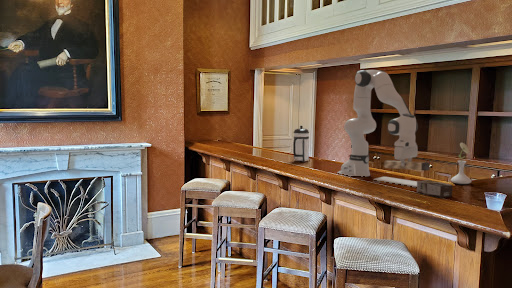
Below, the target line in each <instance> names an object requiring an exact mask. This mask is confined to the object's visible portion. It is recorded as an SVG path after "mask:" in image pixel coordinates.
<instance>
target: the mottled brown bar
mask: <svg viewBox="0 0 512 288" xmlns="http://www.w3.org/2000/svg"><path fill="white" fill-rule="evenodd" d="M383 163H384V165H383V167H384V168H386V169H398V170H413V171H423V172H424V171H430V162H428V161H425V162H424V161H423V162H422V161H411V162H407V160H405V164H406V165H405V166H404V167H402V166H401V161H400V160H384V162H383Z"/></svg>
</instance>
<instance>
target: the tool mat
mask: <svg viewBox="0 0 512 288" xmlns="http://www.w3.org/2000/svg"><path fill="white" fill-rule="evenodd" d="M374 180H377V181H376V182H380V181H384V182H383V183H386V182H389V183H388V184H392V183H395V184H394V185H398V184H401V185H400V186H404V185H407V186H406V187H410V186H412V188H416V187H417V181H418V180H416V181H415V180H409V179H403V178H396V177H389V176H381V177H376V178H373V181H374Z"/></svg>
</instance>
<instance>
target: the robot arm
mask: <svg viewBox="0 0 512 288" xmlns="http://www.w3.org/2000/svg"><path fill="white" fill-rule="evenodd" d="M354 82H355V87H354V91H353V92H354V93H353V104H352V108H353V110H354V111H355V112H356V115H357V117H354V118H350V119H347V120H346V121H345V122H344V127H343V128H344V129H343V130H344V131H345V132H346V134H347V135H348V136H349V139H350V143H351V154H349V155H348V156H347V157H348V158H349V159H347V161H345V162H344V163H343V164H342V165H341V167H340V170H338V171H337V174H338V173H339V174H338V175H342V174H344V175H343V176H346V175H348V176H347V177H351V176H361V178H362V177H363V176H365V177H370V176H371V173H370V167H369V161H370V155H369V142H368V141H367V140H366V138H365V135H367V134H370V133H373V132H374V131H376V128H377V122H376V120H375V119H374V118H373V115H372V112H371V103H372V102H371V101H372V90H373V89H374V91H375V93H376V96H377V98H378V100H379V101H380V103H384V104H385V105H386V104H387V105H389V106H392V107H393V108H395V109H396V111H398V114H399V117H396V118H393V119H390V120H389V121H388V123H387V132H388V133H389V134H390V135H393V136H398V139H397V140H396V141H394V150H393V151H394V153H393V155H394V159H395V161H401V166H402V167H404V166H405V165H406V164H405V161H407V162H412V159H413V158H416V157H418V154H419V153H418V152H419V151H418V144H417V142H416V138H417V137H416V132H417V131H418V128H419V125H418V124H419V123H418V122H417V119H416V116H415V115H414V114H412V113H411V111H410V109H409V106H408V105H407V103H406V101H405V100H404V98H403V97H402V96H401V95H400V94H399V93H398V92H397V90H396V88H395V85H394V83H393V81H392V79H391V77H390V75H389V74H388V73H387V72H386V71H384V70H377V69H368V70H367V69H366V70H364V69H362V70H358V71H357V72H356V74H355V76H354ZM363 178H364V177H363Z"/></svg>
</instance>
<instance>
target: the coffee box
mask: <svg viewBox="0 0 512 288" xmlns="http://www.w3.org/2000/svg"><path fill="white" fill-rule="evenodd" d="M416 181H417V188H416V192H417V193H420V194H423V195H428V196H430V195H431V197H434V196H435V197H434V198H437V199H444V197H445V198H451V196H452V197H453V184H449V183H446V182H440V181H435V180H430V179H424V180H416Z"/></svg>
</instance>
